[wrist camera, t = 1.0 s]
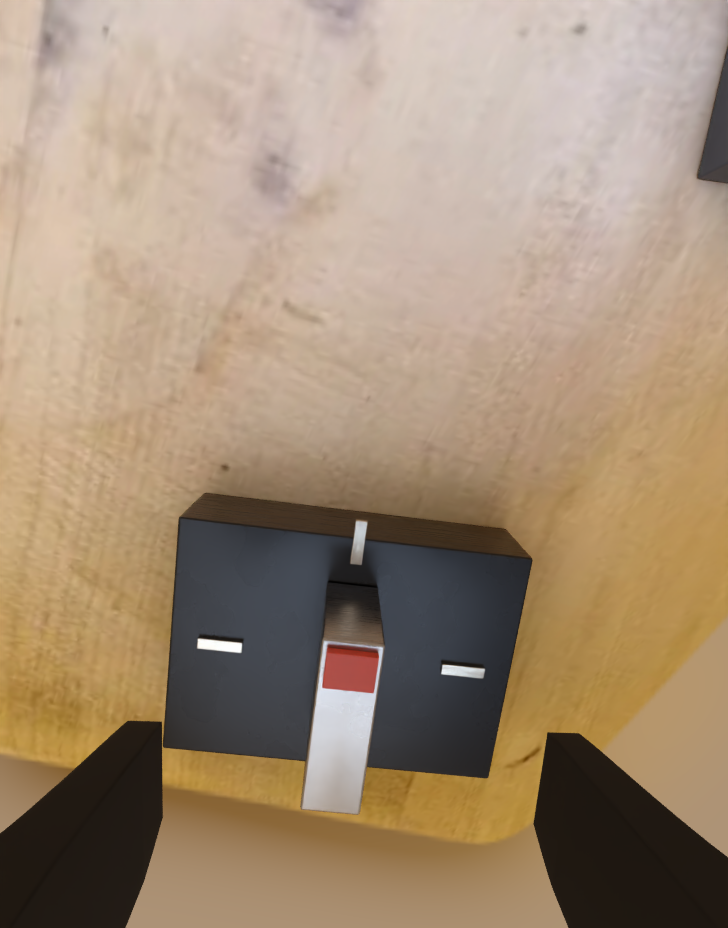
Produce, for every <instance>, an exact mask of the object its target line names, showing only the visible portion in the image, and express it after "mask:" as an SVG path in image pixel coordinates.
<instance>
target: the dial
mask: <svg viewBox="0 0 728 928" xmlns="http://www.w3.org/2000/svg"><path fill="white" fill-rule="evenodd" d="M384 652H385V640H384V632H383V624H382V616H381V609H380V601H379V593H378V588H373V587H364V586H355V585H347V584H338V583H327V588H326V596H325V604H324V612H323V619H322V627H321V635H320V643H319V651H318V658H317V666H316V674H315V682H314V690H313V697H312V705H311V713H310V721H309V730H308V739H307V749H306V758H305V768H304V777H303V787H302V796H301V806H300V807H301V809H302V810H312V811H323V812H334V813H345V814H357V815H358V814H359V813H360V808H361V802H362V795H363V789H364V782H365V776H366V769H367V763H368V756H369V750H370V743H371V737H372V730H373V724H374V717H375V711H376V704H377V698H378V691H379V685H380V678H381V672H382V665H383V659H384Z"/></svg>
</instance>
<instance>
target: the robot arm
mask: <svg viewBox="0 0 728 928" xmlns="http://www.w3.org/2000/svg"><path fill="white" fill-rule="evenodd" d="M162 807H163V806H162V722H150V721H127V722H126V723H125V724H124V725H122V726H121V727H120V728H119V729H118V730H117V731H116V732H115V733H113V734H112V735H111V736H110V737H109V738H108V739H107V740H106V741H105V742H104V743H102V744H101V745H100V746H99V747H98V748H97V749H96V750H95V751H94V752H93V753H92V754H91V755H89V756H88V757H87V758H86V759H85V760H84V761H83V762H82V763H81V764H80V765H79V766H77V767H76V768H75V769H74V770H73V771H72V772H71V773H70V774H69V775H68V776H67V777H65V778H64V780H62V781H61V782H60V783H59V784H58V785H56V786H55V787H54V788H53V789H52V790H51V791H50V792H48V793H47V794H46V795H45V796H44V797H43V798H42V799H40V800H39V801H38V802H37V803H36V804H35V805H34V806H33V807H32V808H30V809H29V810H28V811H27V812H26V813H24V814H23V815H22V816H21V817H20V818H19V819H17V820H16V821H15V822H14V823H13V824H12V825H10V826H9V827H8V828H6V829H5V830H4V831H3V832H1V833H0V928H125V927H126V925H127V922H128V920H129V917H130V915H131V912H132V910H133V907H134V905H135V902H136V900H137V897H138V895H139V892H140V890H141V887H142V885H143V882H144V879H145V876H146V872H147V869H148V866H149V863H150V859H151V856H152V853H153V849H154V846H155V842H156V839H157V835H158V832H159V828H160V825H161V821H162V818H163V808H162ZM534 827H535V830H536V834H537V837H538V841H539V845H540V849H541V852H542V856H543V859H544V863H545V866H546V869H547V872H548V875H549V879H550V882H551V885H552V888H553V891H554V893H555V896H556V898H557V901H558V903H559V905H560V908H561V910H562V913H563V915H564V918H565V920H566V923H567V925H568V928H728V857H727V856H725V855H724V854H723V853H721V852H720V851H719V850H717V849H716V848H715V847H714V846H712V845H711V844H710V843H708V842H707V841H706V840H705V839H704V838H702V837H701V836H700V835H699V834H697V833H696V832H695V831H694V830H692V829H691V828H690V827H689V826H688V825H686V824H685V823H684V822H683V821H681V820H680V819H679V818H678V817H676V816H675V815H674V814H673V813H672V812H671V811H670V810H668V809H667V808H666V807H665V806H664V805H662V804H661V803H660V802H659V801H658V800H657V799H655V798H654V797H653V796H652V795H651V794H650V793H648V792H647V791H646V790H645V789H643V787H641V786H640V785H639V784H638V783H637V782H636V781H635V780H633V779H632V778H631V777H630V776H629V775H628V774H626V773H625V772H624V771H623V770H622V769H621V768H620V767H618V766H617V765H616V764H615V763H614V762H613V761H611V760H610V759H609V758H608V757H607V756H605V754H603V753H602V752H601V751H600V750H599V749H598V748H596V747H595V746H594V745H593V744H592V743H590V742H589V741H588V740H587V739H585V738H584V737H583V736H582V735H580V734H579V733H547V740H546V746H545V753H544V759H543V766H542V772H541V779H540V785H539V792H538V799H537V805H536V812H535V818H534Z"/></svg>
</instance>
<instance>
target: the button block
mask: <svg viewBox="0 0 728 928" xmlns="http://www.w3.org/2000/svg"><path fill="white" fill-rule="evenodd" d="M698 178H699V179H705V180H712V181H718V182H724V183H728V49H727V53H726V58H725V62H724V66H723V70H722V75H721V79H720V83H719V88H718V92H717V96H716V101H715V105H714V109H713V114H712V118H711V122H710V126H709V131H708V135H707V139H706V144H705V148H704V152H703V157H702V161H701V165H700V170H699V174H698Z"/></svg>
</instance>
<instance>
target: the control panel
mask: <svg viewBox="0 0 728 928" xmlns="http://www.w3.org/2000/svg"><path fill="white" fill-rule="evenodd" d="M531 565H532V558H531V557H530V556H529V554H528V553H527V552H526V551H525V550H524V549H523V548H522V547H521V546H520V544H519V543H518V542H517V541H516V540H515V539H514V538H513V537H512V536H511V534H510V533H509V532H508V531H507V530H506V529H500V528H492V527H483V526H475V525H467V524H458V523H450V522H442V521H433V520H425V519H417V518H409V517H400V516H392V515H384V514H375V513H367V512H359V511H350V510H342V509H334V508H325V507H317V506H309V505H301V504H292V503H284V502H276V501H267V500H259V499H251V498H242V497H234V496H226V495H218V494H209V493H204V494H203V495H202V496H201V497H200V498H199V499H198V500H197V501H196V502H195V503H194V504H193V505H192V506H191V507H190V508H188V509H187V510H186V511H185V512H184V513H183V514H182V515H181V516H180V517H179V524H178V538H177V552H176V567H175V581H174V595H173V609H172V623H171V637H170V652H169V666H168V680H167V694H166V708H165V722H164V737H163V747H164V748H173V749H184V750H194V751H205V752H215V753H226V754H236V755H247V756H257V757H268V758H278V759H289V760H299V761H305V758H306V749H307V739H308V730H309V721H310V713H311V705H312V697H313V690H314V682H315V674H316V666H317V658H318V651H319V643H320V635H321V627H322V619H323V612H324V604H325V596H326V588H327V583H338V584H347V585H355V586H364V587H373V588H378V593H379V601H380V609H381V616H382V624H383V632H384V640H385V652H384V659H383V665H382V672H381V678H380V685H379V691H378V698H377V704H376V711H375V717H374V724H373V730H372V737H371V743H370V750H369V756H368V763H367V767H373V768H383V769H394V770H404V771H415V772H425V773H436V774H446V775H457V776H467V777H478V778H488V776H489V771H490V766H491V761H492V756H493V751H494V747H495V742H496V737H497V732H498V727H499V722H500V717H501V712H502V707H503V702H504V697H505V693H506V688H507V683H508V678H509V673H510V668H511V663H512V658H513V653H514V648H515V643H516V639H517V634H518V629H519V624H520V619H521V614H522V609H523V604H524V599H525V594H526V590H527V585H528V580H529V575H530V570H531Z"/></svg>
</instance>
